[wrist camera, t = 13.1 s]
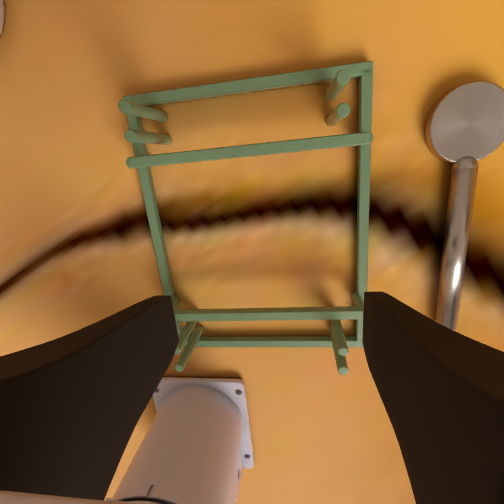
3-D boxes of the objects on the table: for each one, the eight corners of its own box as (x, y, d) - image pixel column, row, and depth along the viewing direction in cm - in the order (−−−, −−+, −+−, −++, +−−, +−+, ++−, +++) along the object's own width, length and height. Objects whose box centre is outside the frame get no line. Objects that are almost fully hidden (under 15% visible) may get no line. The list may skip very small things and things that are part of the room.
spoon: (472, 327, 20) (483, 337, 19) (409, 327, 20) (415, 338, 19) (511, 78, 15) (528, 72, 14) (427, 89, 16) (437, 84, 15)
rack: (363, 342, 21) (380, 390, 17) (177, 342, 23) (151, 384, 19) (370, 63, 16) (398, 31, 12) (127, 98, 18) (76, 81, 14)
